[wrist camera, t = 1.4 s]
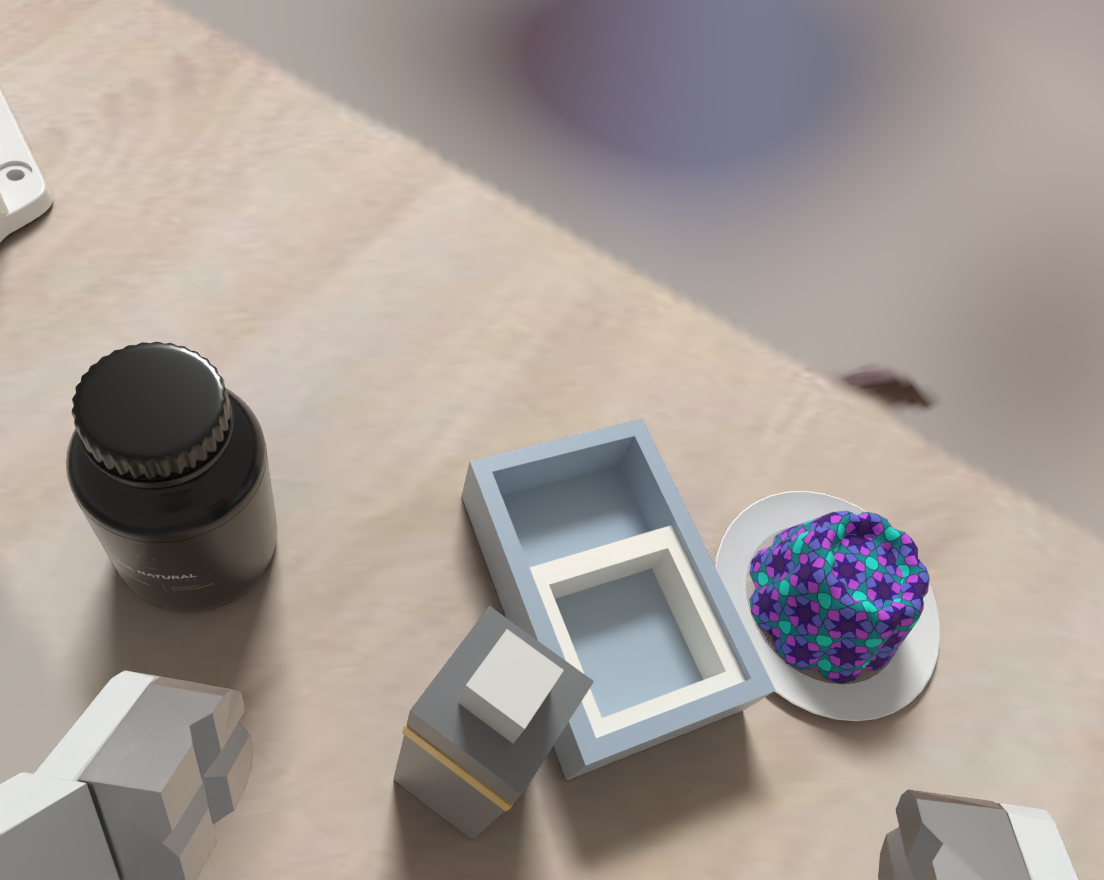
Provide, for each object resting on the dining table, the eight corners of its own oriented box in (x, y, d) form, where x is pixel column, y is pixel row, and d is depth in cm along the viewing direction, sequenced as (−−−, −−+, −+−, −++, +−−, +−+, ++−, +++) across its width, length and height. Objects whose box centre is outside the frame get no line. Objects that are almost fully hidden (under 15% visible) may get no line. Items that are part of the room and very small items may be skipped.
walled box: (461, 496, 42) (469, 461, 39) (623, 454, 45) (642, 418, 42) (566, 780, 36) (585, 765, 33) (743, 710, 39) (775, 690, 36)
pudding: (754, 459, 47) (795, 408, 43) (952, 567, 46) (1016, 526, 42) (672, 643, 41) (711, 606, 36) (901, 773, 40) (969, 751, 35)
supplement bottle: (140, 641, 36) (56, 520, 26) (99, 504, 38) (8, 345, 28) (302, 580, 38) (283, 449, 28) (253, 456, 41) (220, 295, 31)
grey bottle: (391, 780, 35) (411, 693, 23) (451, 698, 37) (498, 580, 25) (472, 842, 34) (534, 786, 23) (528, 755, 37) (612, 662, 25)
